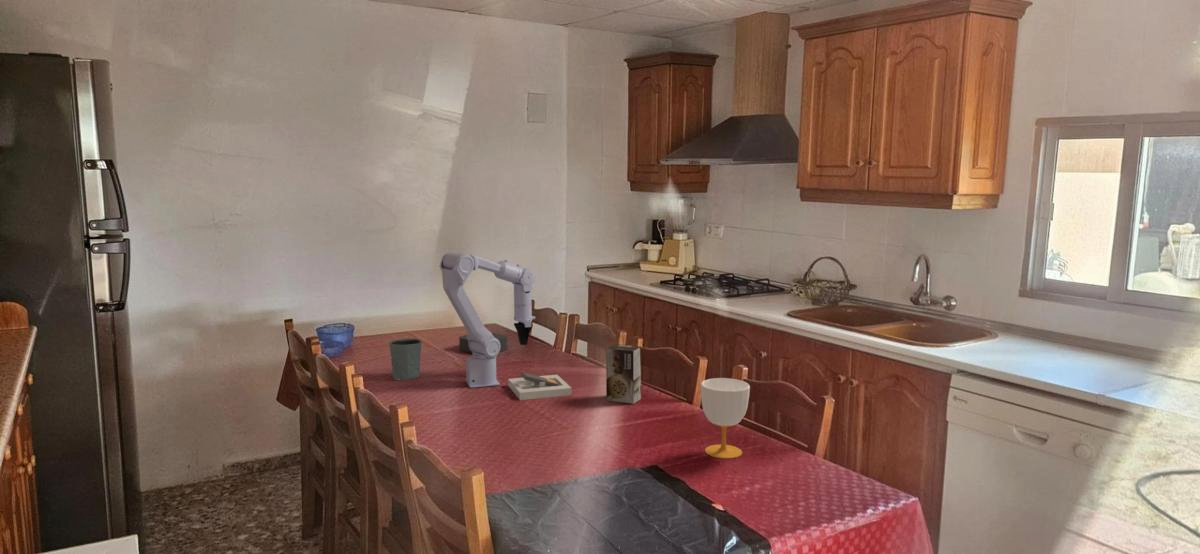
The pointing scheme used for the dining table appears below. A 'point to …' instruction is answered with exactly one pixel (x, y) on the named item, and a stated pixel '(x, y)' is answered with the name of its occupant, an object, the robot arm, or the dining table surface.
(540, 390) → the breaker housing
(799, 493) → the dining table surface
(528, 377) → the rocker
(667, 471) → the dining table surface
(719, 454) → the cup
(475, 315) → the robot arm
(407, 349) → the green plant pot
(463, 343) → the streaming box
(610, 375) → the coffee box
